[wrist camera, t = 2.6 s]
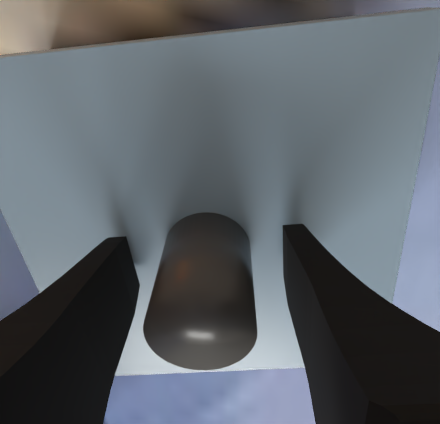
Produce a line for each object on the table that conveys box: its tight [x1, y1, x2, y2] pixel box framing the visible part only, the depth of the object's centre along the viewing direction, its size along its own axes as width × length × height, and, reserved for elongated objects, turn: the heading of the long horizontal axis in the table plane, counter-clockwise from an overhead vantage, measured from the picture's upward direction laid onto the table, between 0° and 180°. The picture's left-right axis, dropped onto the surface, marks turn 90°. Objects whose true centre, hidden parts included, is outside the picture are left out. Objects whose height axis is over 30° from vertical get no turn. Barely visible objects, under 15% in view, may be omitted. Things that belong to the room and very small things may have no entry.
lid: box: [0, 8, 440, 376], centre depth 11 cm, size 13×13×5 cm
